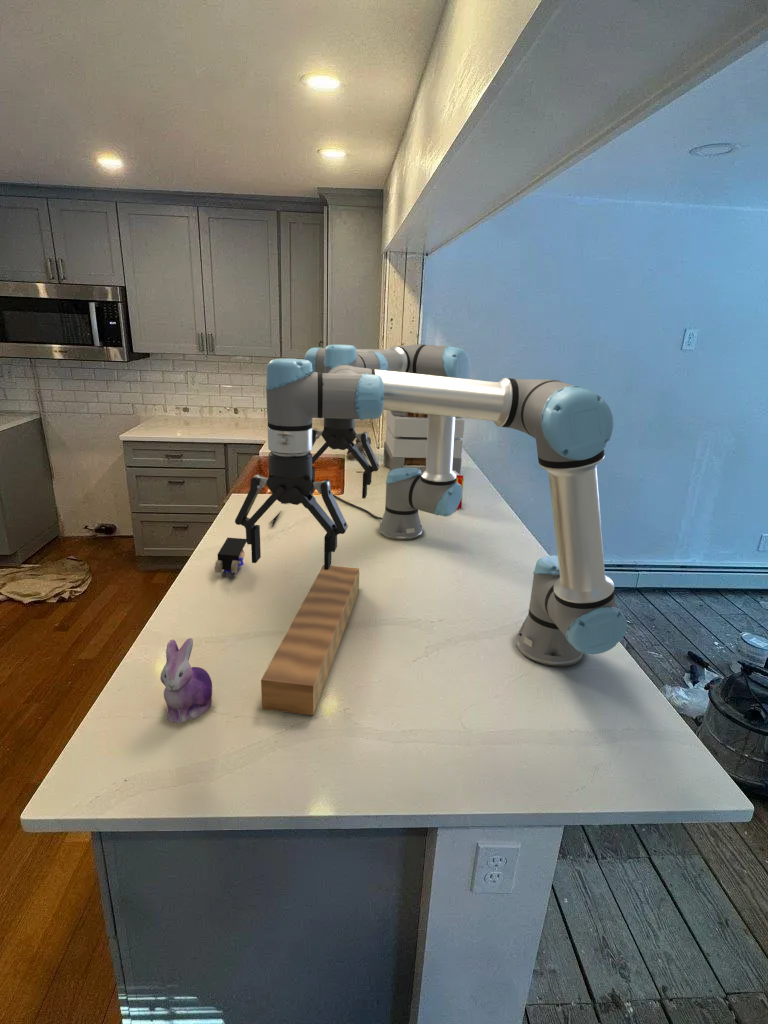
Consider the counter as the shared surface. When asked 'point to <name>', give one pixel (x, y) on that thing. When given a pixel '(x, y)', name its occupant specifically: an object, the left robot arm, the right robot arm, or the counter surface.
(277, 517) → the feather
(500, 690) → the counter surface
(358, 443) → the fossil
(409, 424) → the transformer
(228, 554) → the figurine character
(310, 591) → the thick board
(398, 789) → the counter surface
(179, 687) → the figurine
